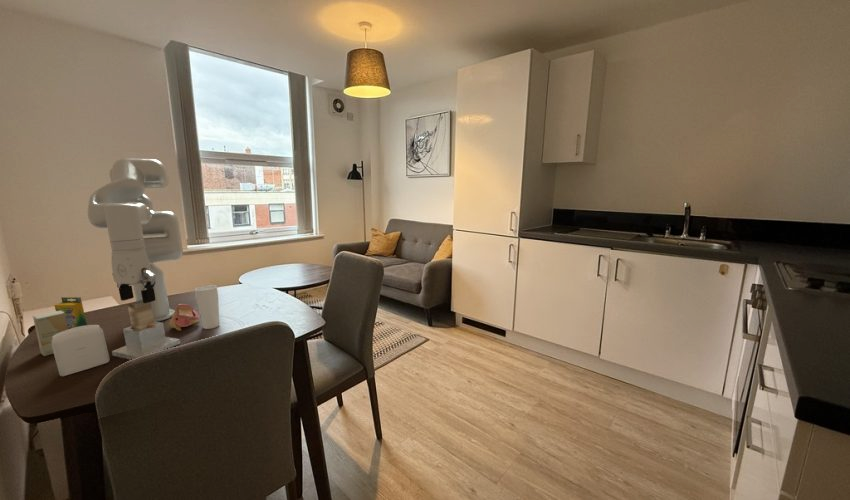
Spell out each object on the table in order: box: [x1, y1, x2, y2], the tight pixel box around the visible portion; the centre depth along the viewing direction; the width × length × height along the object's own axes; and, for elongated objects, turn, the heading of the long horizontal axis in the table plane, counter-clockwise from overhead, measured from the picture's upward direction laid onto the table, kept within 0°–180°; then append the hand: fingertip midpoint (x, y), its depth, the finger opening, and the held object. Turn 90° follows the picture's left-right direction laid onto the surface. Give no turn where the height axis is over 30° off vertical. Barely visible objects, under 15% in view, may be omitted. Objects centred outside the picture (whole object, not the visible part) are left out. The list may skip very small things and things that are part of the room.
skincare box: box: [32, 310, 68, 357], centre depth 104 cm, size 6×4×12 cm
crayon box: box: [54, 296, 88, 329], centre depth 120 cm, size 7×3×12 cm, turn 90°
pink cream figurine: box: [169, 303, 200, 331], centre depth 122 cm, size 9×10×10 cm
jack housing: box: [111, 321, 181, 361], centre depth 104 cm, size 12×12×8 cm
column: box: [126, 300, 155, 330], centre depth 104 cm, size 4×4×14 cm
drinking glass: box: [194, 284, 221, 330], centre depth 120 cm, size 7×7×15 cm
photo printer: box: [52, 324, 111, 377], centre depth 94 cm, size 10×4×12 cm, turn 140°
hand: (138, 300), depth 102 cm, fingers open, 9 cm apart
